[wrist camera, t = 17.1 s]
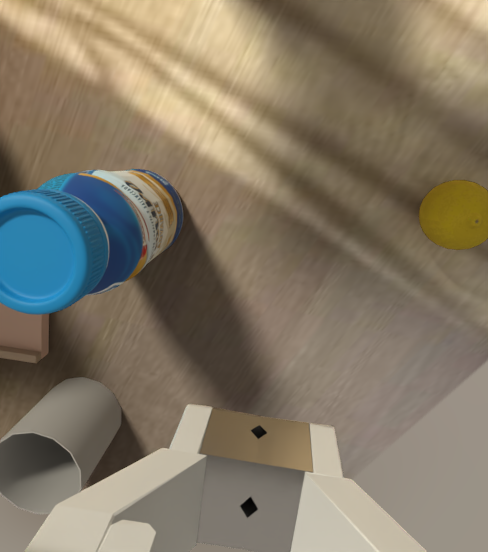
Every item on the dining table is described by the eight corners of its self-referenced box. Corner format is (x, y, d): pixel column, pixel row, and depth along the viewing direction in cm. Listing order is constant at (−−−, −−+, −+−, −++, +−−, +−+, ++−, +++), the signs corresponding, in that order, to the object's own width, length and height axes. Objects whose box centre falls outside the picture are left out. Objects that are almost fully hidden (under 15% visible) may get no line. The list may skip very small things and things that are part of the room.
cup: (45, 372, 49) (-14, 426, 39) (121, 380, 48) (79, 437, 38) (49, 442, 51) (-7, 508, 41) (121, 450, 50) (82, 520, 40)
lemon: (454, 248, 41) (493, 269, 34) (398, 227, 41) (423, 242, 34) (484, 191, 40) (531, 199, 32) (425, 168, 40) (458, 171, 32)
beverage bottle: (98, 164, 42) (-59, 169, 23) (187, 170, 42) (103, 180, 23) (99, 253, 45) (-43, 325, 25) (185, 260, 44) (105, 339, 25)
